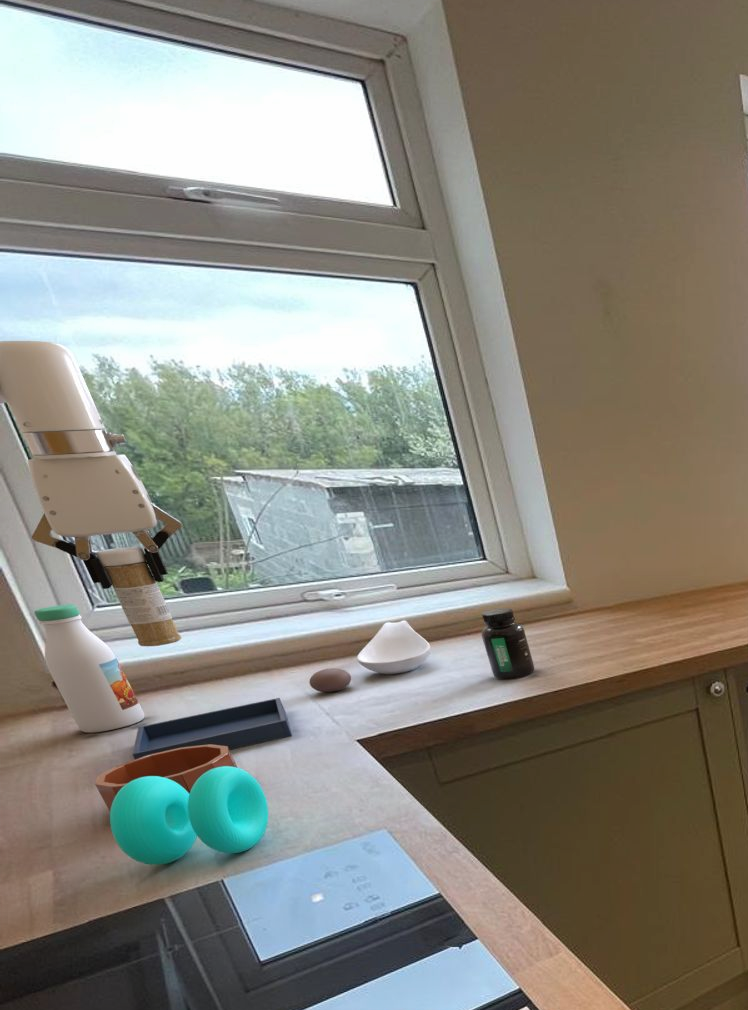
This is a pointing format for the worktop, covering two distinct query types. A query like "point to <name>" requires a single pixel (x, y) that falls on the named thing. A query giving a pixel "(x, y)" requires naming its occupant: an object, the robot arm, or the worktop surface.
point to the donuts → (188, 815)
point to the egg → (330, 680)
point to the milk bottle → (87, 672)
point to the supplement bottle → (506, 645)
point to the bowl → (165, 768)
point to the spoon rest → (394, 649)
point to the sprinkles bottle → (139, 595)
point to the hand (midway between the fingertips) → (133, 582)
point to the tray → (216, 729)
